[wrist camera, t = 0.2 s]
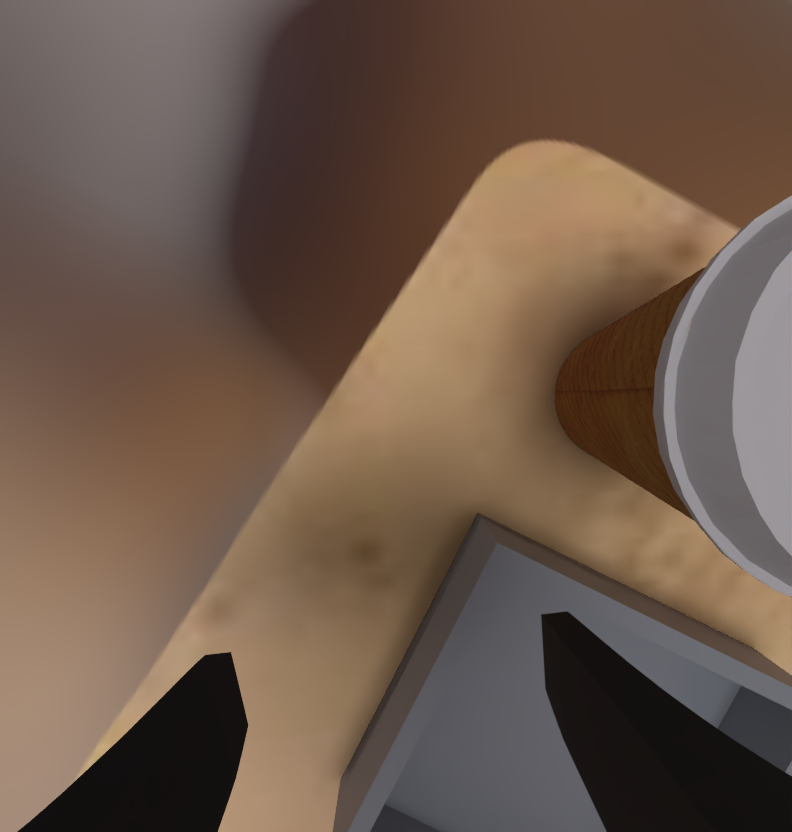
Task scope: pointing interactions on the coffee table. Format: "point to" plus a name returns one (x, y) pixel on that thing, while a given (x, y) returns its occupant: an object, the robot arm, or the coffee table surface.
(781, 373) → the disposable coffee cup
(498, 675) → the tray
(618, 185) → the coffee table surface
